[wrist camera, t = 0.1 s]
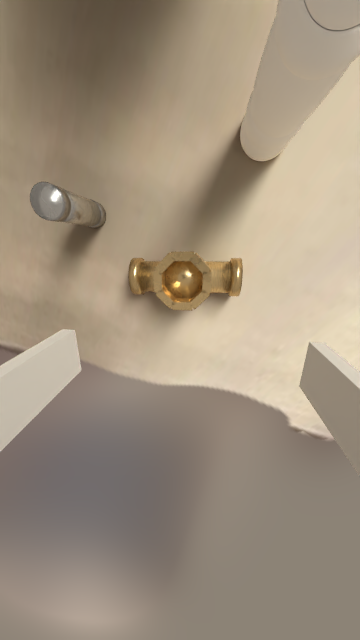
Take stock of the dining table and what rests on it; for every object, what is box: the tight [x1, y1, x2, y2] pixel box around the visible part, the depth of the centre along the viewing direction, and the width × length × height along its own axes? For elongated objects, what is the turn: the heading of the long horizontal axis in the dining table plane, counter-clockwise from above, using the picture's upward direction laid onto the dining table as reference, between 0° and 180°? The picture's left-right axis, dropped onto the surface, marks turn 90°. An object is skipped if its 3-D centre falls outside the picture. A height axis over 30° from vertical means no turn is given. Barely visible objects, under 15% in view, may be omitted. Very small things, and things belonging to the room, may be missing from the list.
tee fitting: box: [129, 252, 243, 310], centre depth 34 cm, size 17×8×8 cm, turn 90°
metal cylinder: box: [30, 182, 106, 228], centre depth 31 cm, size 4×4×12 cm
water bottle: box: [240, 0, 360, 161], centre depth 19 cm, size 7×7×25 cm
